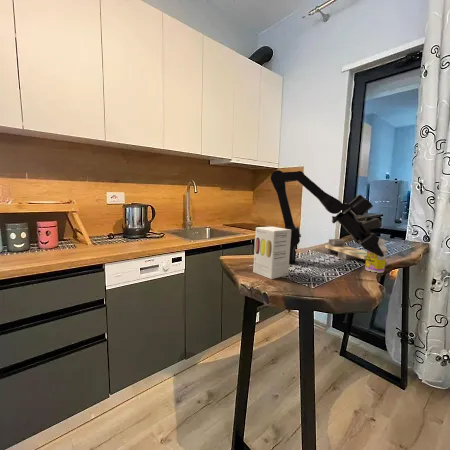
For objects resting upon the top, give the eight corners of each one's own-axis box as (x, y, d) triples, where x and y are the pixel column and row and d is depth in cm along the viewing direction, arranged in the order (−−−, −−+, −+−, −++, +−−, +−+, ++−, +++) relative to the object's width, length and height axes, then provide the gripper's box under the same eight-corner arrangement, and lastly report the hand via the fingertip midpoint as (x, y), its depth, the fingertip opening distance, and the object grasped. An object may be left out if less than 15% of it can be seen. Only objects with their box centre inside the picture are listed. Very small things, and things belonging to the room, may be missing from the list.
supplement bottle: (361, 268, 104) (364, 237, 103) (376, 268, 105) (379, 237, 103) (372, 273, 98) (375, 240, 96) (388, 273, 98) (392, 240, 97)
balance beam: (380, 263, 112) (381, 248, 111) (362, 265, 109) (364, 249, 108) (339, 251, 135) (340, 238, 134) (324, 252, 131) (325, 239, 131)
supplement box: (252, 272, 94) (254, 227, 92) (269, 268, 100) (271, 225, 98) (271, 279, 87) (274, 230, 85) (289, 275, 92) (292, 229, 90)
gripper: (375, 211, 91) (407, 244, 89) (362, 209, 108) (389, 236, 107) (348, 232, 94) (379, 264, 92) (340, 226, 111) (366, 253, 110)
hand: (379, 253), depth 100 cm, fingers open, 9 cm apart
